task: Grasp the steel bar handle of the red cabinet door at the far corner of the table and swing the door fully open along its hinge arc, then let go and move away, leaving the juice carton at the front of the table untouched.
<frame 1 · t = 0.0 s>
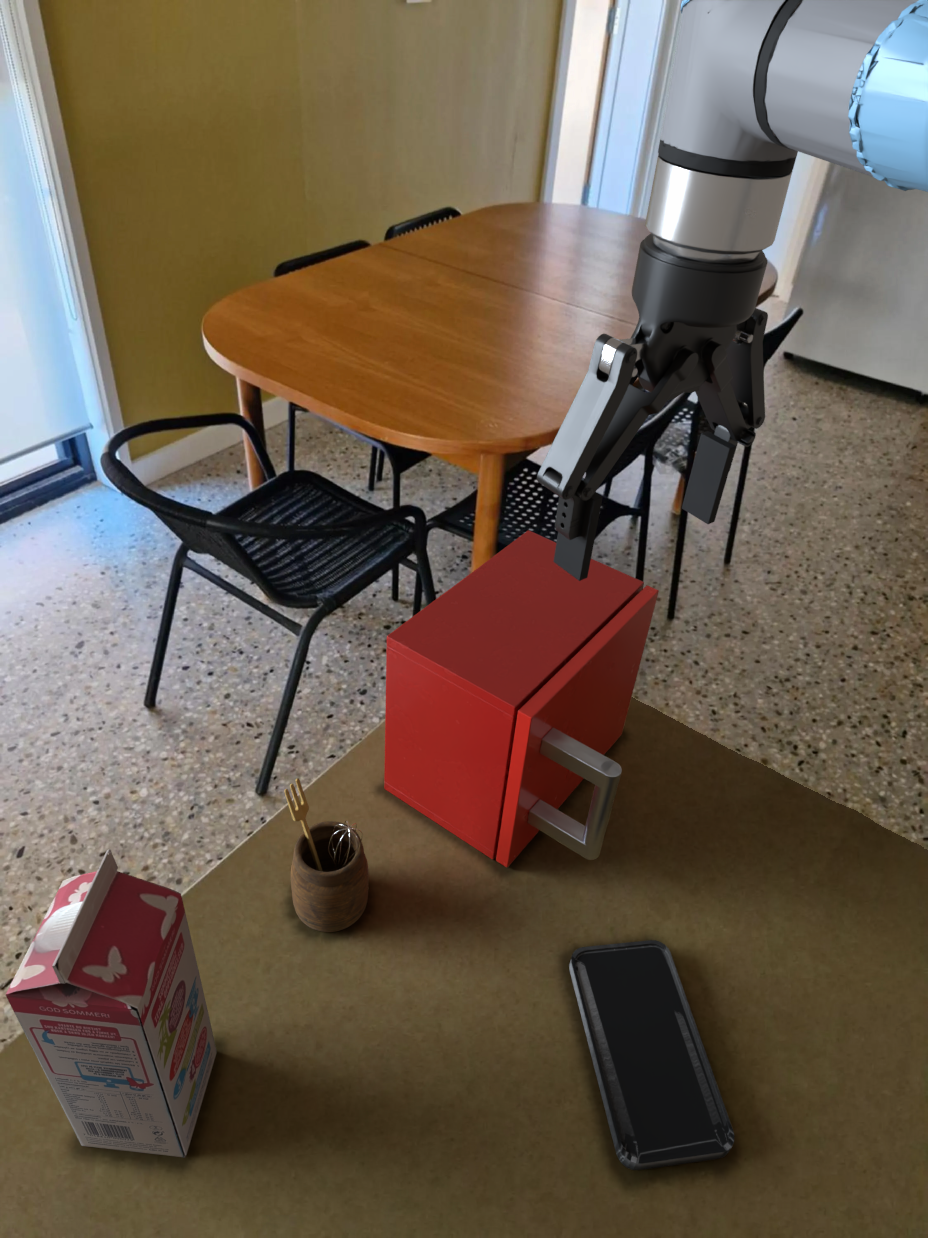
hand: (637, 541, 66), 26 cm above the counter, tool pointing down, fingers open, 13 cm apart
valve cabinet: (501, 757, 84), on the counter
phone: (644, 1049, 63), on the counter
utensil holder: (329, 902, 71), on the counter
juice carton: (152, 1097, 58), on the counter
red cabinet door: (610, 742, 74), point 9 cm above the counter, hinge at 0.0°
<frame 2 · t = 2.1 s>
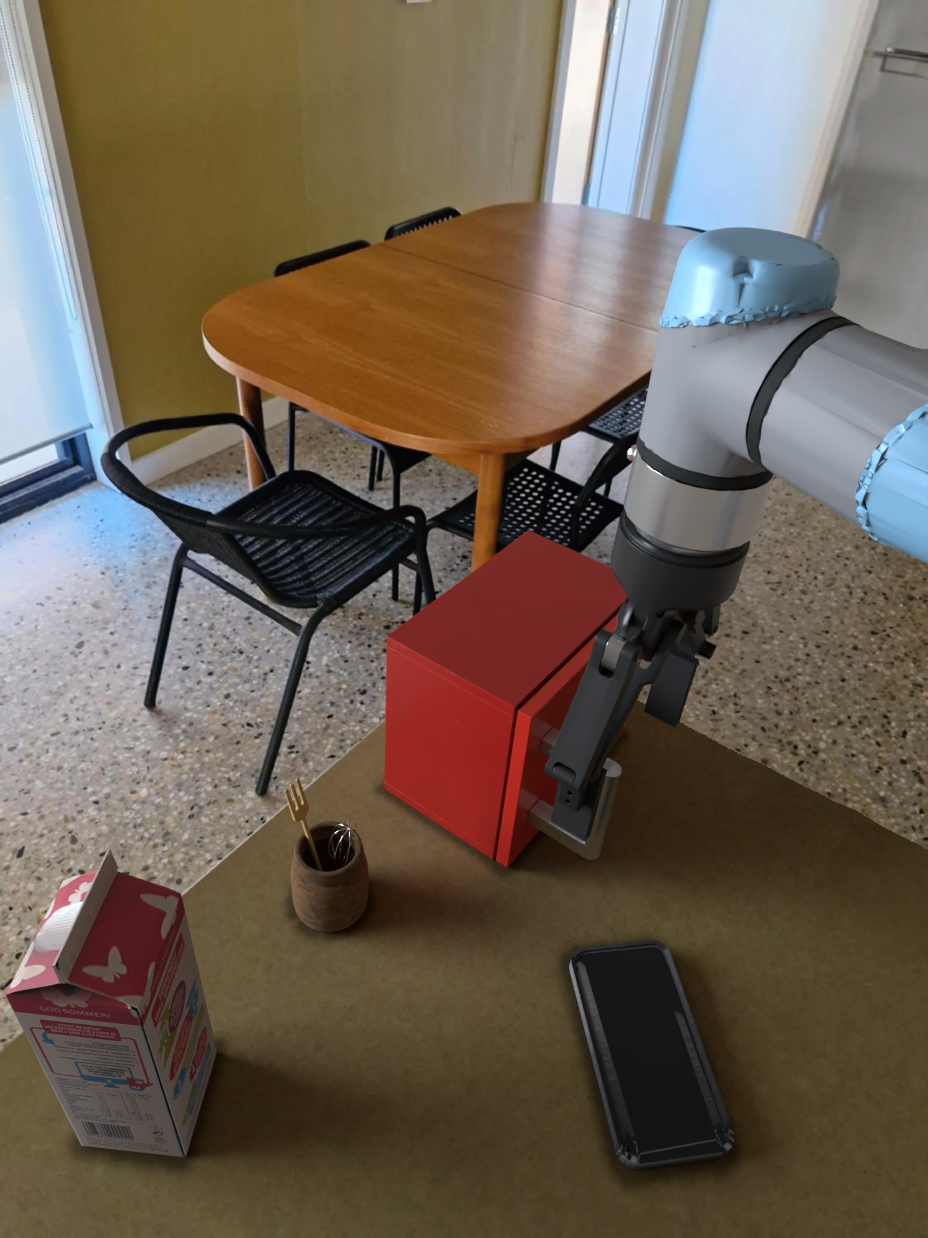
hand: (618, 769, 64), 14 cm above the counter, tool pointing down, fingers open, 13 cm apart
nothing on the counter moved.
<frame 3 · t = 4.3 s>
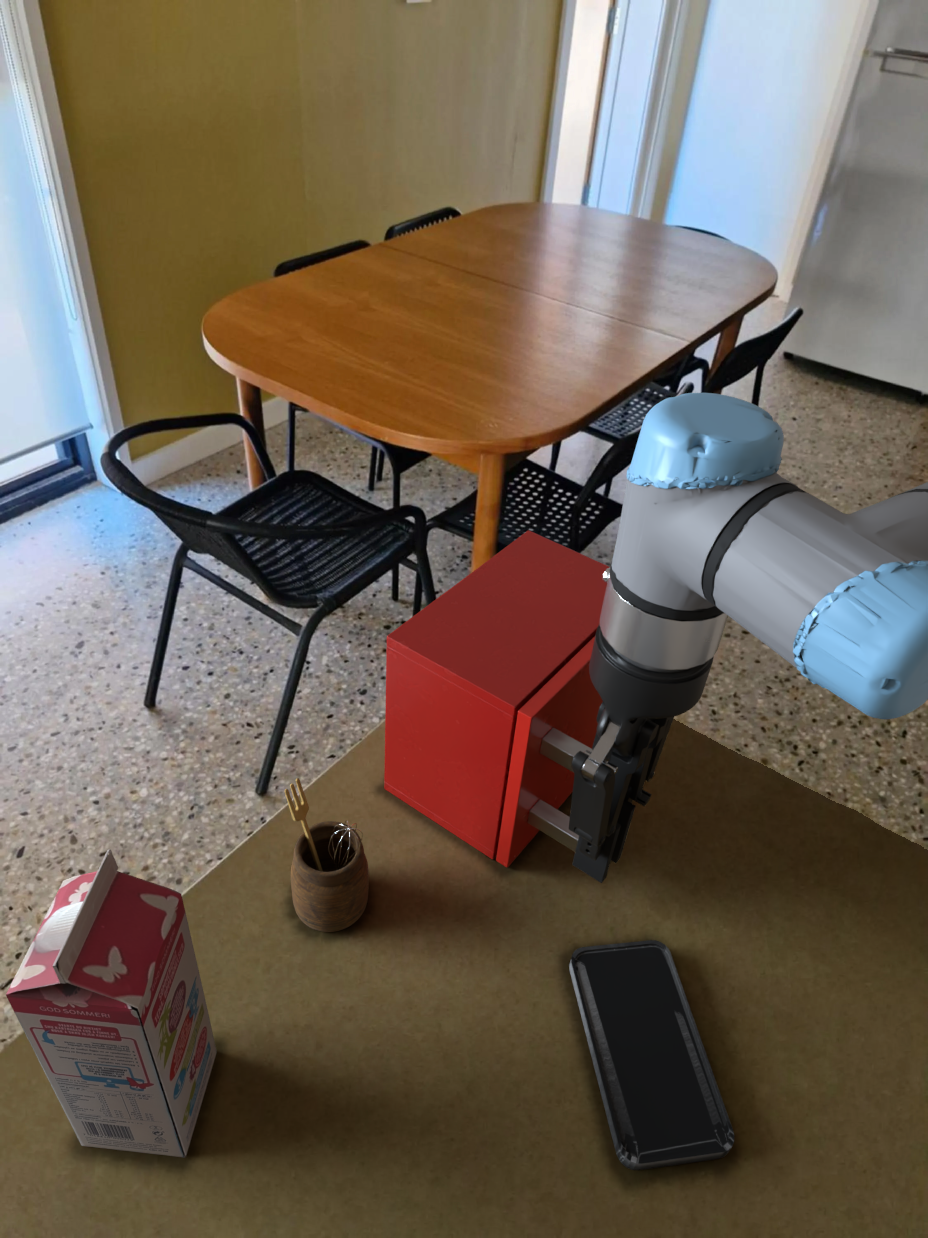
hand: (596, 861, 71), 3 cm above the counter, tool pointing down, fingers closed on red cabinet door, 2 cm apart
red cabinet door: (610, 742, 74), point 9 cm above the counter, hinge at 0.0°, touching gripper
everything else where it was.
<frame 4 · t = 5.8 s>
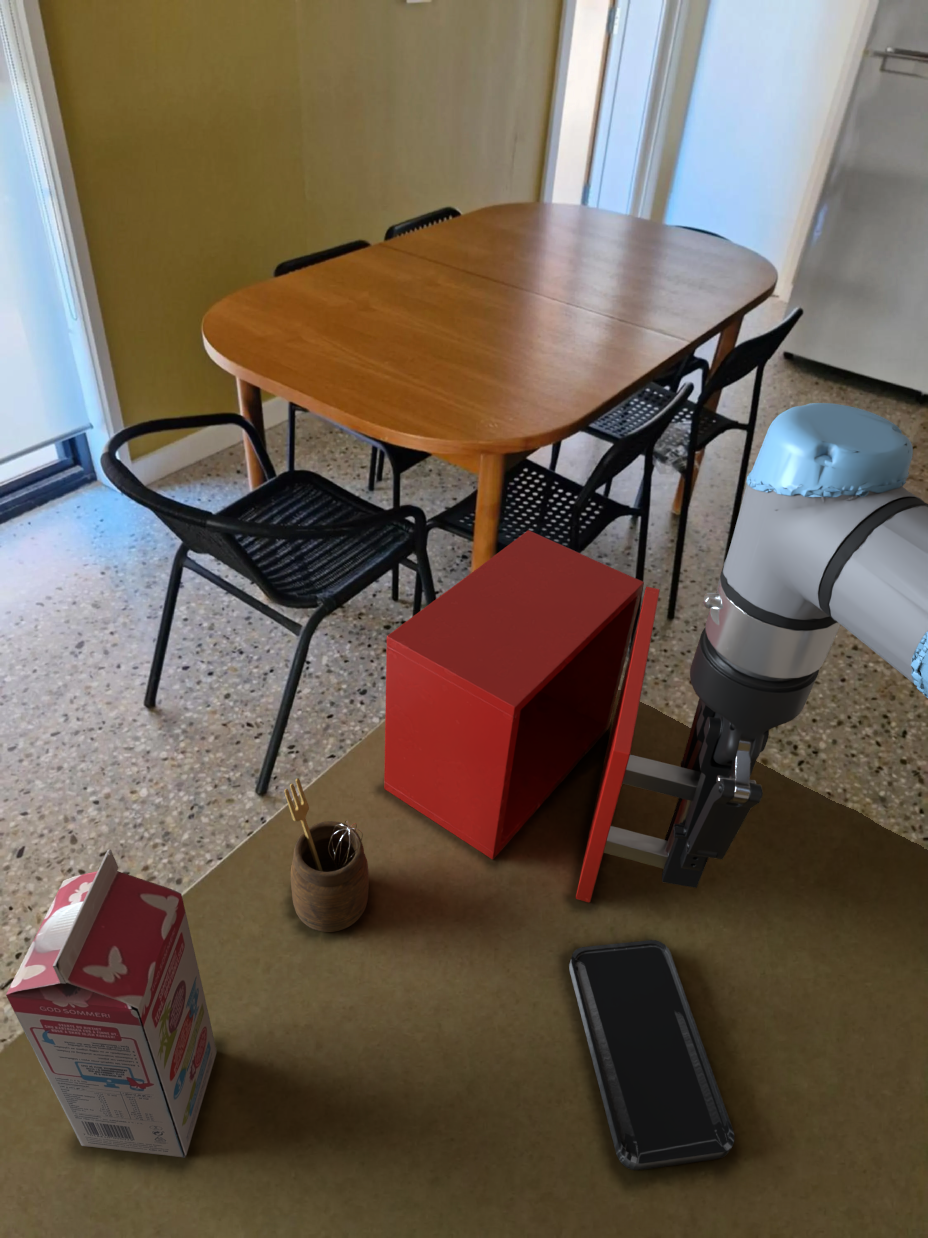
hand: (678, 868, 71), 3 cm above the counter, tool pointing down, fingers closed on red cabinet door, 2 cm apart
red cabinet door: (656, 749, 73), point 9 cm above the counter, hinge at 20.9°, touching gripper
everything else where it was.
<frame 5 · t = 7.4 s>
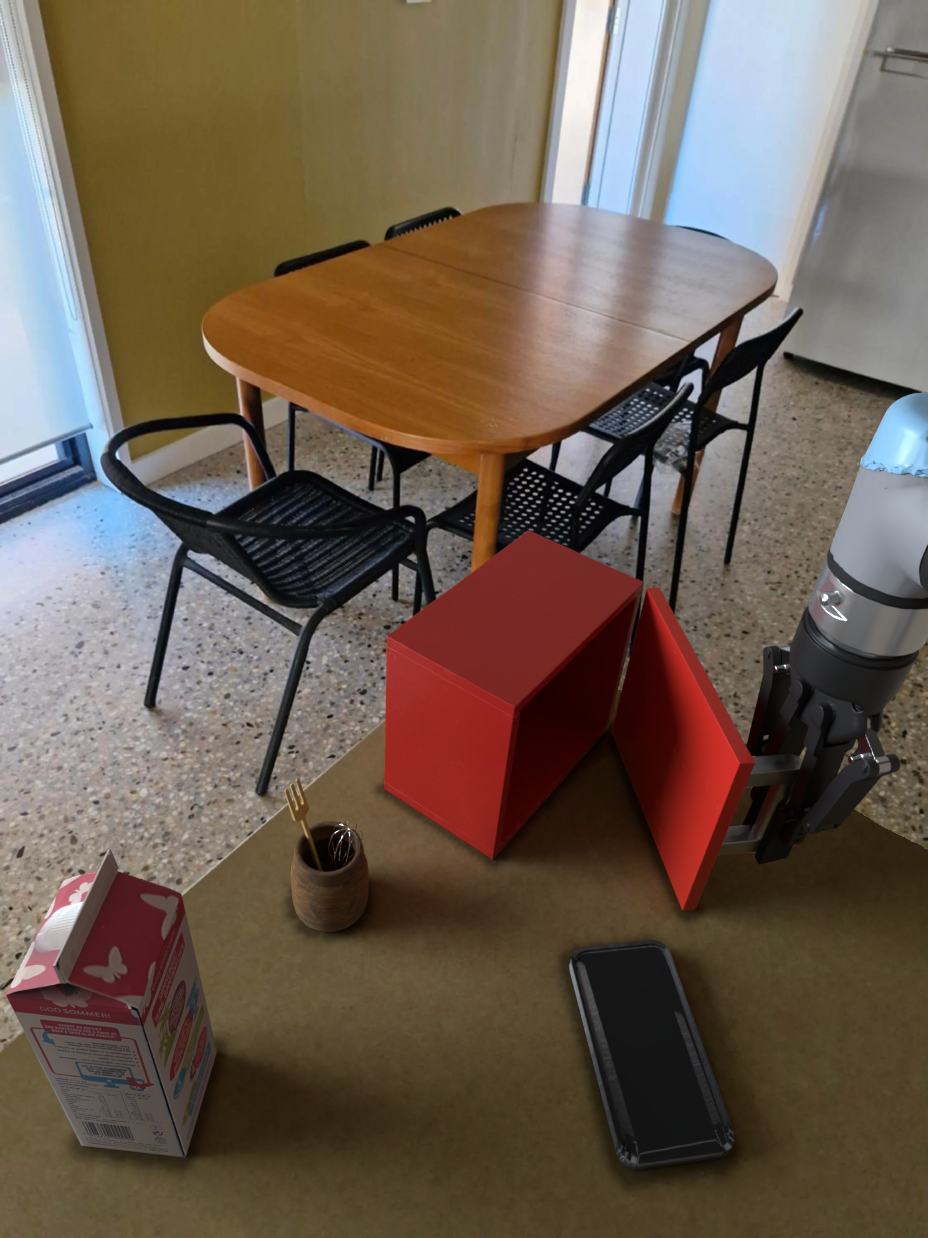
hand: (762, 845, 73), 3 cm above the counter, tool pointing down, fingers closed on red cabinet door, 2 cm apart
red cabinet door: (706, 741, 74), point 9 cm above the counter, hinge at 45.9°, touching gripper
everything else where it was.
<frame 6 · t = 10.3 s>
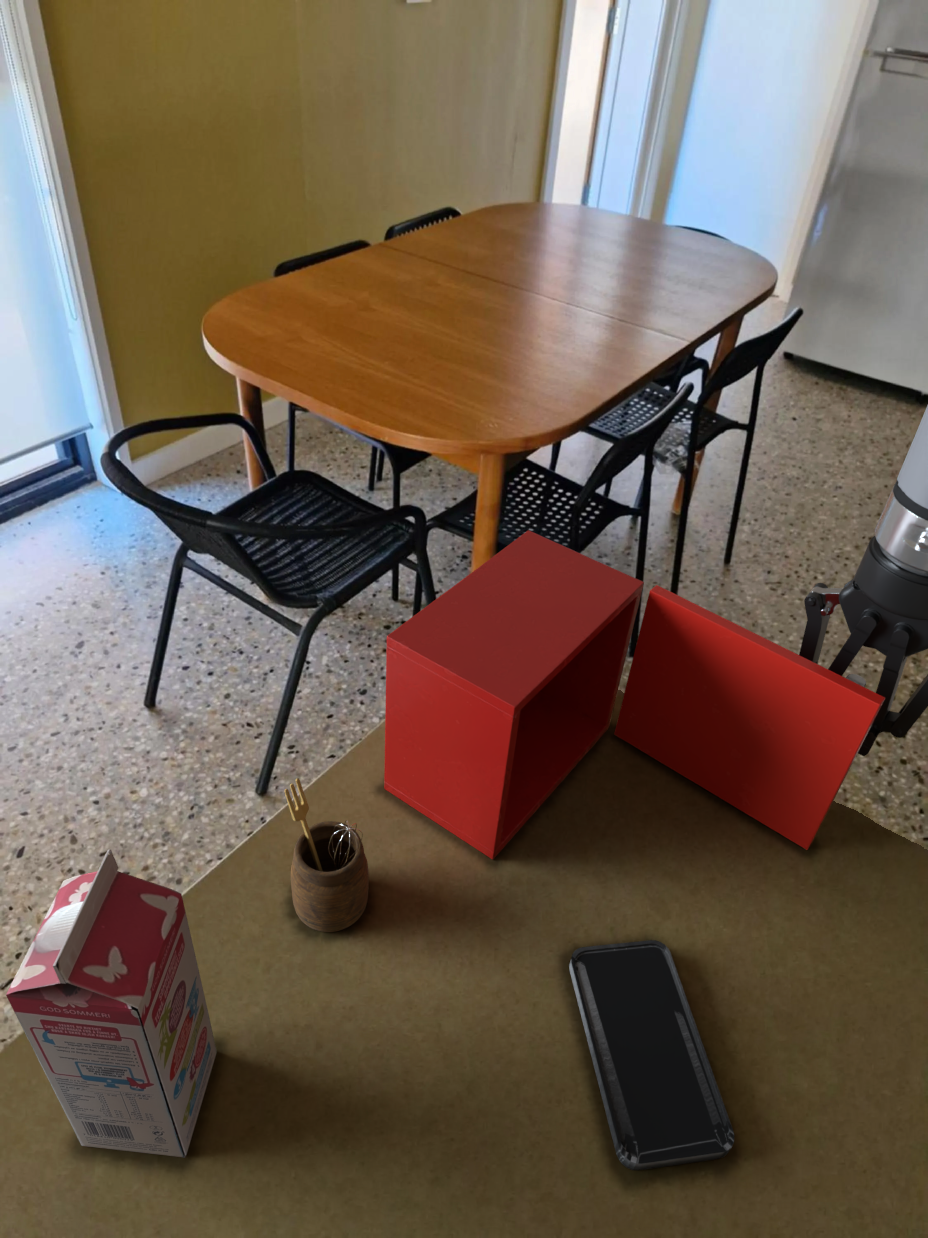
hand: (822, 761, 82), 3 cm above the counter, tool pointing down, fingers open, 2 cm apart
red cabinet door: (748, 700, 79), point 9 cm above the counter, hinge at 86.5°
everything else where it was.
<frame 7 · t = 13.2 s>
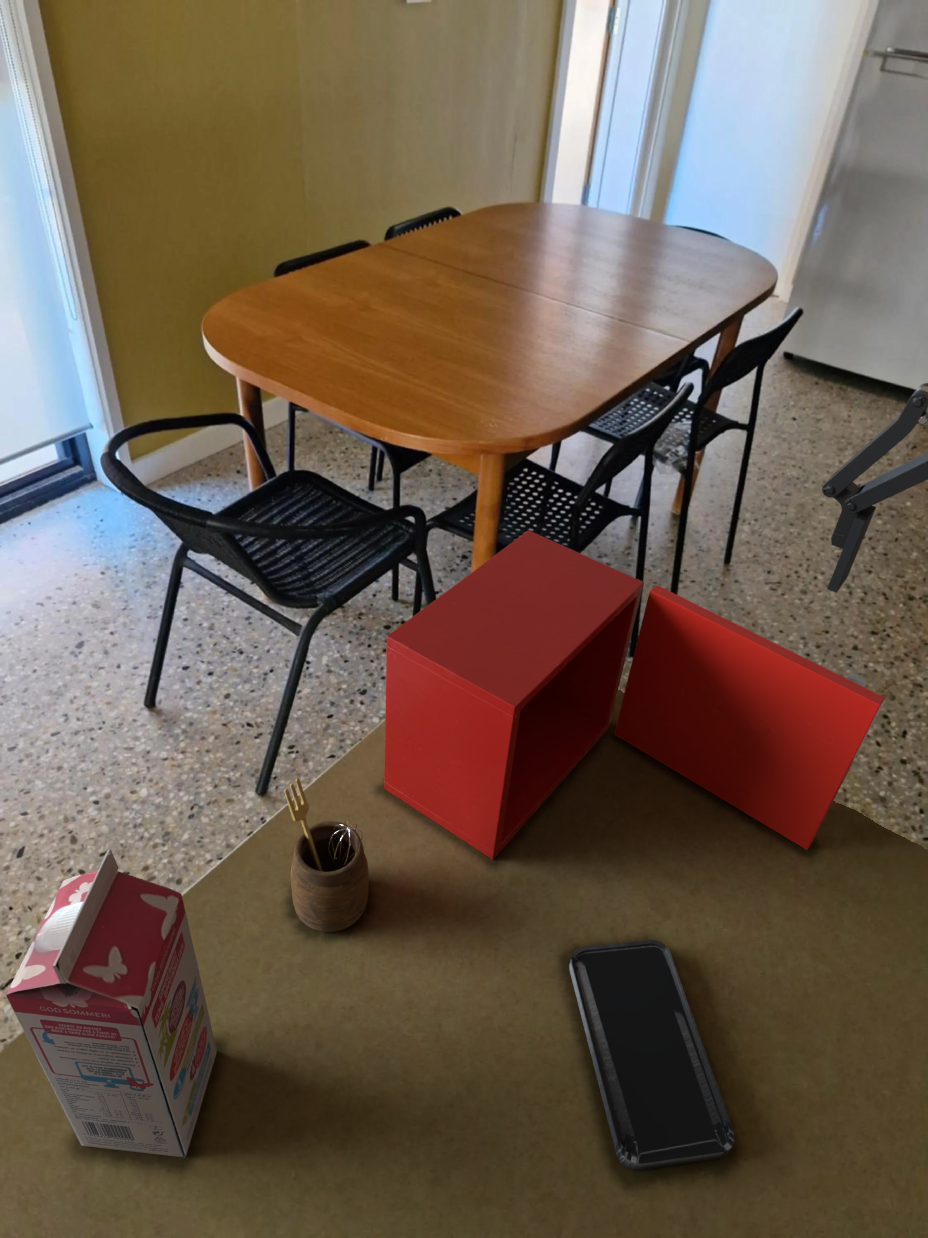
hand: (925, 619, 67), 23 cm above the counter, tool pointing down, fingers open, 13 cm apart
nothing on the counter moved.
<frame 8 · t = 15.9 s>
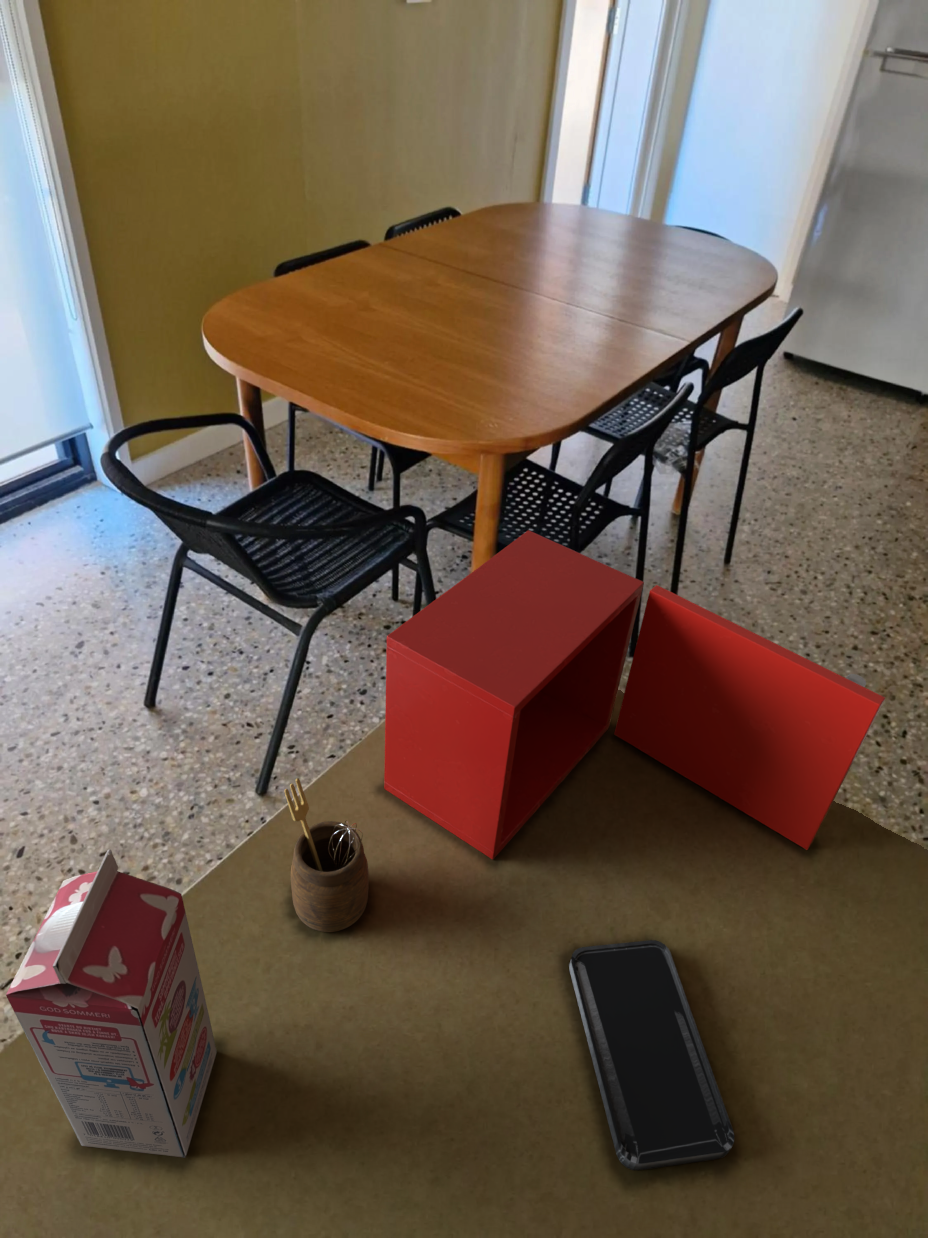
nothing on the counter moved.
at the end: red cabinet door at +86° (first picture: +0°); the gripper is holding nothing; juice carton moved 0.2 cm from its start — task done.
